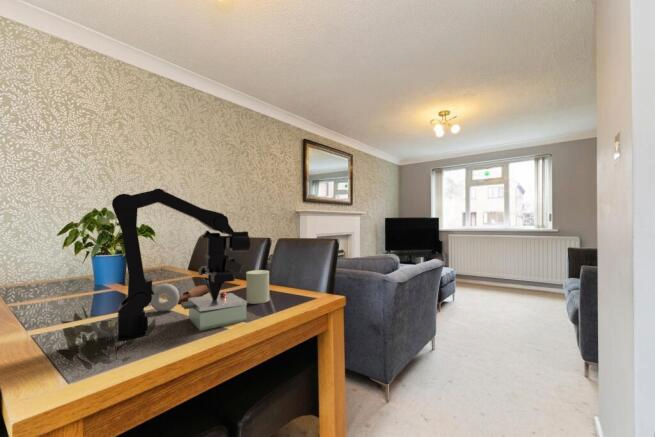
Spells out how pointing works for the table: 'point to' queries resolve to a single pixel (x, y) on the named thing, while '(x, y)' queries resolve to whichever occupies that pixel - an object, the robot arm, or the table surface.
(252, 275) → the can
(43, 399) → the table surface
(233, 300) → the lid
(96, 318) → the table surface
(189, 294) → the sunglasses case
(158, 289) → the donut
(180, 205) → the robot arm
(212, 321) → the shallow mint tray
